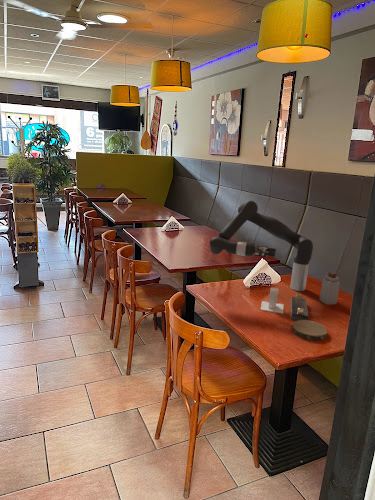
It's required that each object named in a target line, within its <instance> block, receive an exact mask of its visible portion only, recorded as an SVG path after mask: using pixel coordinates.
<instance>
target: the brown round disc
mask: <svg viewBox="0 0 375 500" xmlns="http://www.w3.org/2000/svg"><path fill="white" fill-rule="evenodd" d="M291 332H292V333H293V334H294V335H295V336H297V337H298V338H301V339H303V340H307V341H314V342H316V341H319V342H320V341H323V340H325V339H326V338H327V336H328V335H327V334H328V328H327V327H325V326H324V325H323V324H321V323H320V322H316V321H312V320H298V321H297V320H294V321H293V322H292V327H291Z"/></svg>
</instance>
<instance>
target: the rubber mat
mask: <svg viewBox="0 0 375 500" xmlns="http://www.w3.org/2000/svg"><path fill="white" fill-rule="evenodd" d="M268 306H269V301H263V300H262V301H261V305H260V311H262V312H271V313H277V314H284V308H285V307H284V306H285V305H284V303H276V309H272V308H268Z"/></svg>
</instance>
